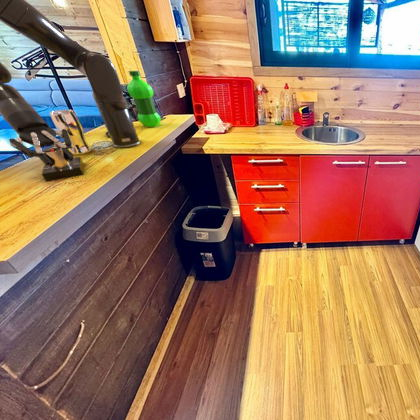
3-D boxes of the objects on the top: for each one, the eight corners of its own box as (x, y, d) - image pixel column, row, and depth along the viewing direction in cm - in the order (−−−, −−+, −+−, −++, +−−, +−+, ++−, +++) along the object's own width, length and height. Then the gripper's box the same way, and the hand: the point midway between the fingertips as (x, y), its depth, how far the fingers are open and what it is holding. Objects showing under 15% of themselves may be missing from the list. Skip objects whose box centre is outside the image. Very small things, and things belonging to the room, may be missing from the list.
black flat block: (49, 169, 86) (44, 161, 85) (83, 163, 91) (79, 156, 90) (45, 181, 79) (41, 173, 78) (83, 174, 84) (79, 167, 82)
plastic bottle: (166, 123, 137) (151, 70, 123) (156, 128, 128) (138, 72, 114) (147, 122, 137) (130, 69, 123) (136, 128, 128) (115, 71, 114)
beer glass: (72, 149, 101) (52, 110, 93) (94, 147, 104) (76, 109, 96) (67, 156, 96) (45, 114, 88) (91, 153, 99) (71, 113, 91)
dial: (52, 165, 83) (42, 148, 80) (70, 162, 86) (61, 145, 82) (52, 170, 80) (42, 152, 77) (70, 166, 83) (61, 149, 80)
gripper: (-14, 114, 72) (30, 163, 73) (51, 105, 82) (88, 149, 84) (-8, 129, 76) (33, 176, 78) (53, 120, 87) (87, 161, 89)
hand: (61, 162), depth 81 cm, fingers closed on dial, 4 cm apart
